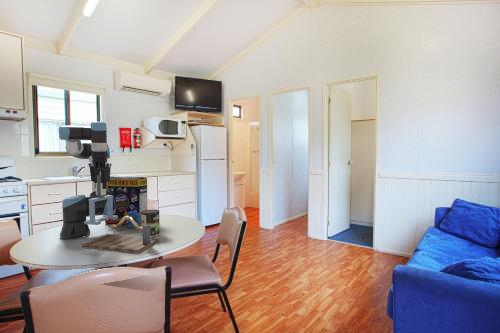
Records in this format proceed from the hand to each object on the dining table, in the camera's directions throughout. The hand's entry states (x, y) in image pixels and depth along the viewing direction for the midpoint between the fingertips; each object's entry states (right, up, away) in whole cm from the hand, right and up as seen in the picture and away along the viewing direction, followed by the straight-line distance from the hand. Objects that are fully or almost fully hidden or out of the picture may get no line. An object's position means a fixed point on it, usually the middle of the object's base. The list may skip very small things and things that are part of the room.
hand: (100, 194), depth 153 cm
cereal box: (-5, -24, +43) cm, 50 cm away
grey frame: (0, -14, +1) cm, 14 cm away
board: (+12, -26, -2) cm, 29 cm away
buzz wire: (+17, -25, -3) cm, 30 cm away
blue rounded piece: (+7, -25, +29) cm, 38 cm away
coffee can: (+22, -26, +15) cm, 37 cm away
